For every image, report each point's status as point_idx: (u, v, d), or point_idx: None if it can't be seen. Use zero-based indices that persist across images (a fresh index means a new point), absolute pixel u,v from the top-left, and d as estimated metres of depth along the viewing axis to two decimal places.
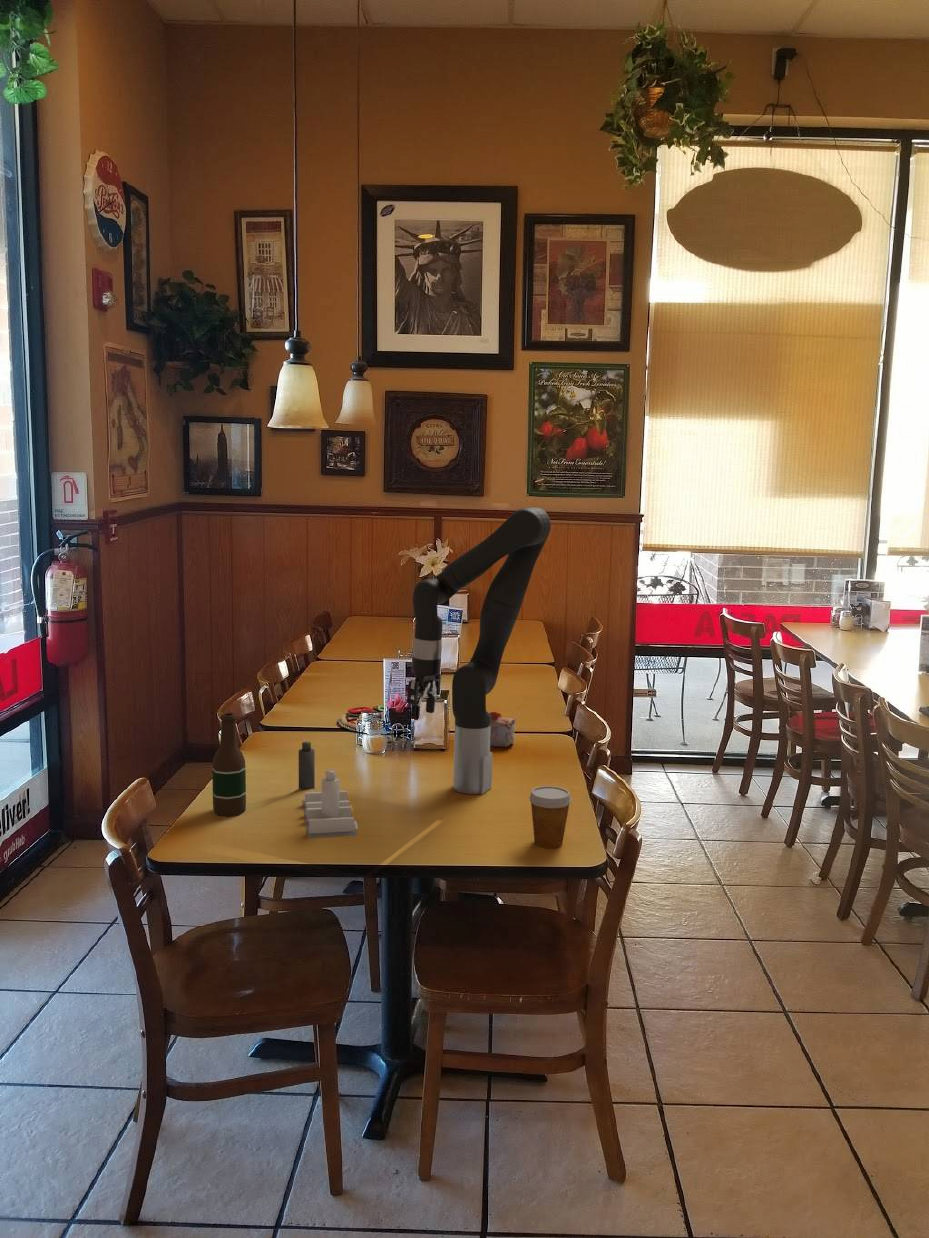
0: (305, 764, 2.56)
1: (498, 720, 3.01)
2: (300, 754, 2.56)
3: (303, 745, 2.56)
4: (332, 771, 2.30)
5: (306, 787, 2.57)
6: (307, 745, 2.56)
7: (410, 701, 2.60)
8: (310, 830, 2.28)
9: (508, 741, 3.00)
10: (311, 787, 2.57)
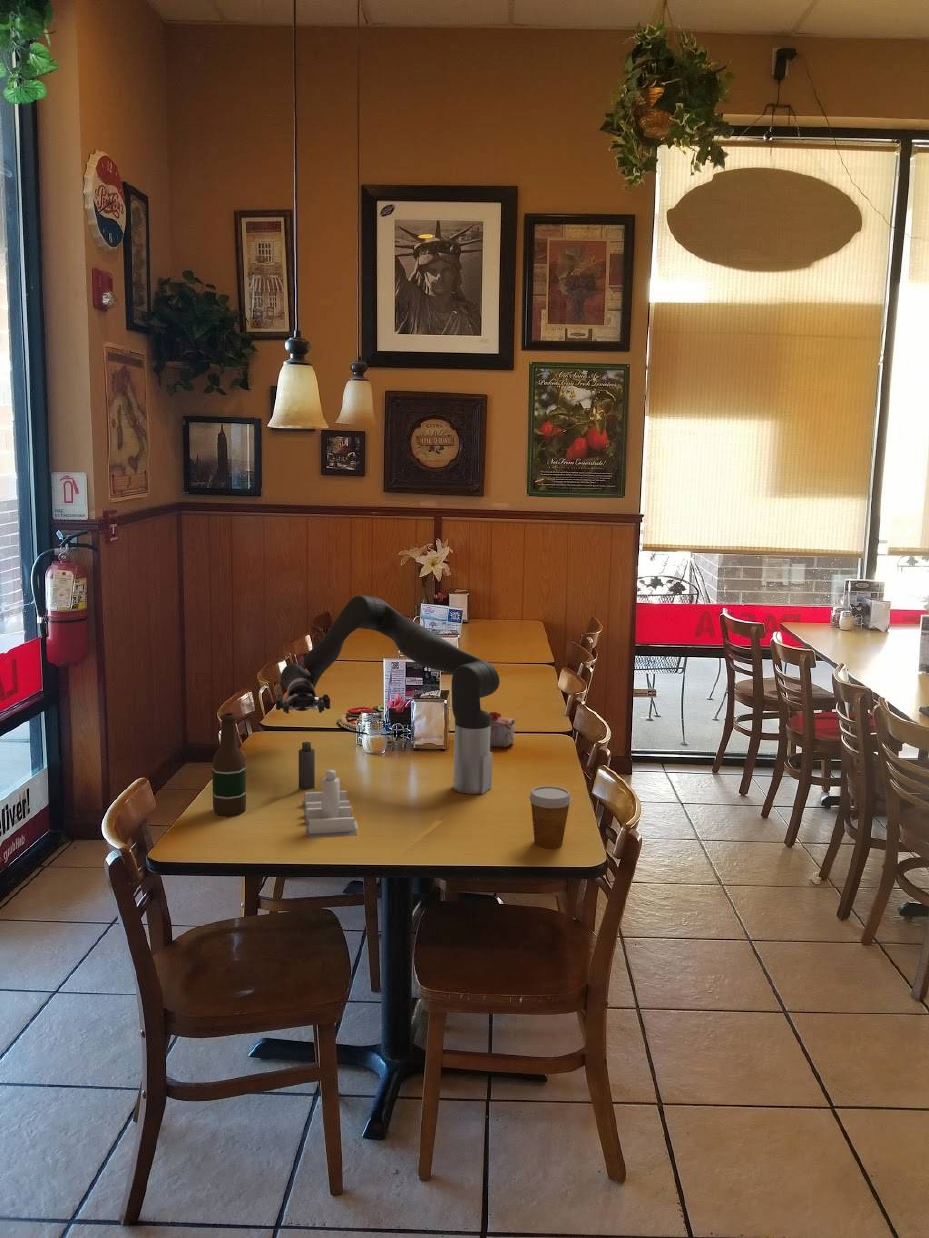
0: (305, 764, 2.56)
1: (498, 720, 3.01)
2: (300, 754, 2.56)
3: (303, 745, 2.56)
4: (332, 771, 2.30)
5: (306, 787, 2.57)
6: (307, 745, 2.56)
7: None
8: (310, 830, 2.28)
9: (508, 741, 3.00)
10: (311, 787, 2.57)
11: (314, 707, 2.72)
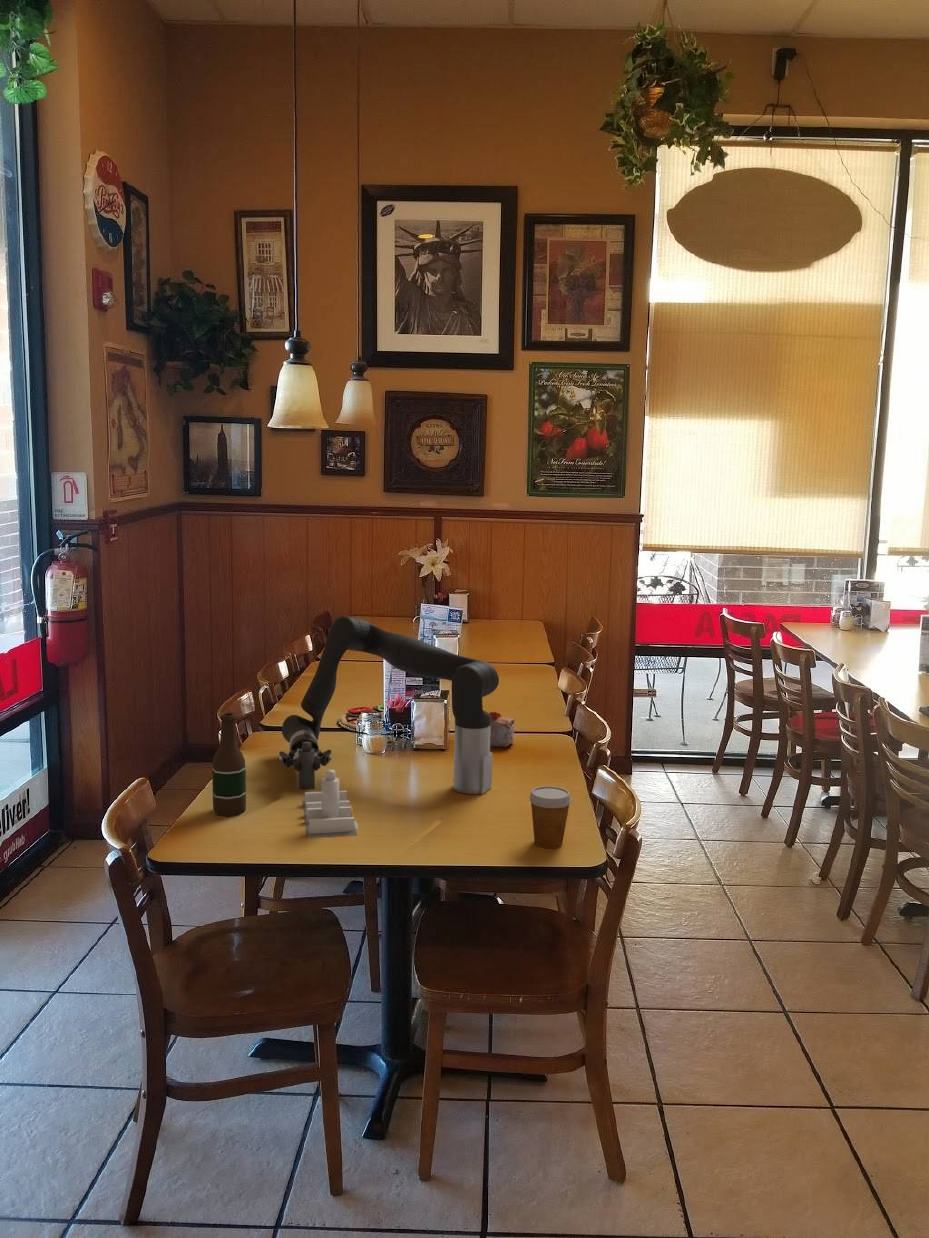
0: (305, 764, 2.56)
1: (498, 720, 3.01)
2: (300, 754, 2.56)
3: (303, 745, 2.56)
4: (332, 771, 2.30)
5: (306, 787, 2.57)
6: (307, 745, 2.56)
7: None
8: (310, 830, 2.28)
9: (508, 741, 3.00)
10: (311, 787, 2.57)
11: None
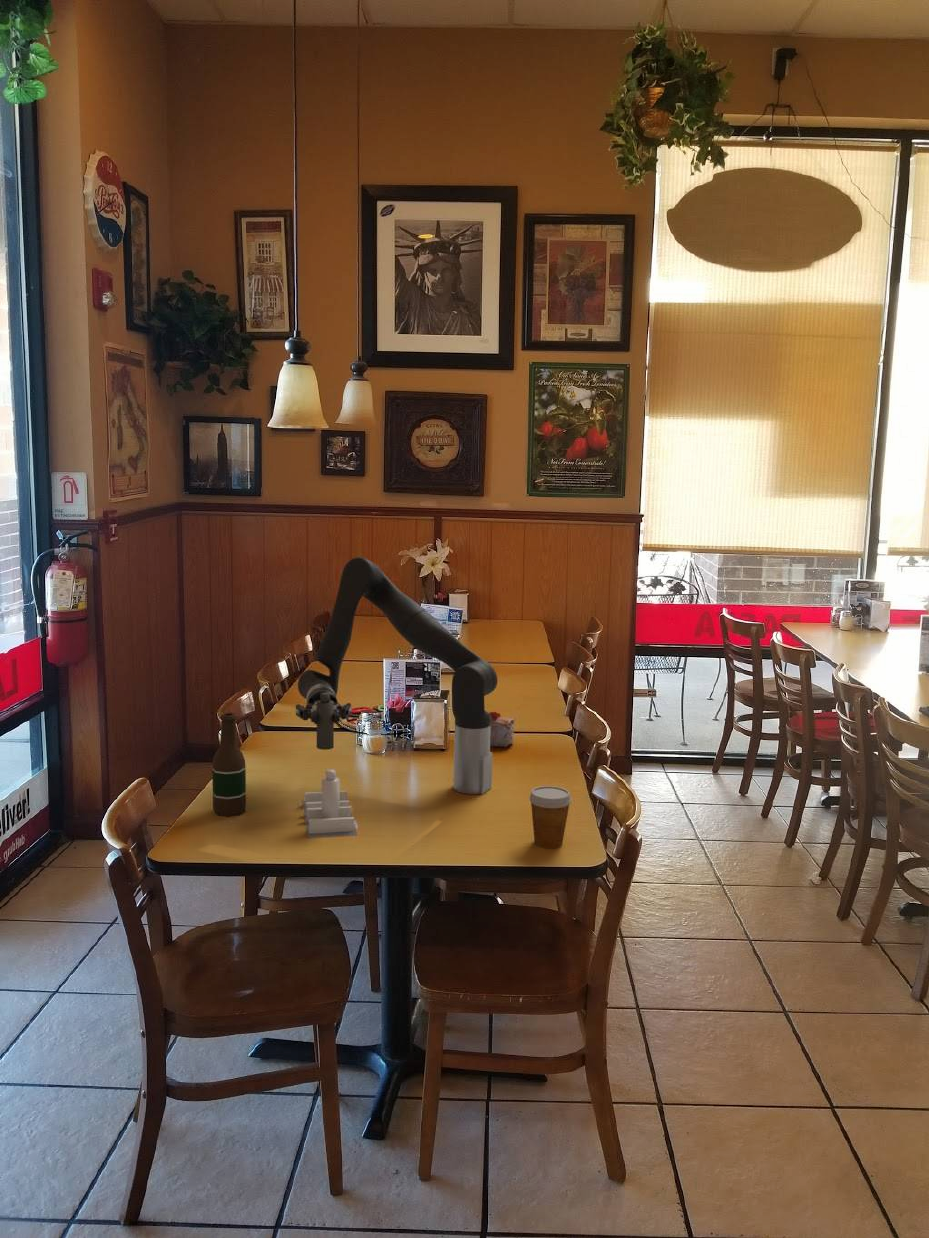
0: (323, 716, 2.39)
1: (497, 720, 3.01)
2: (318, 706, 2.39)
3: (321, 696, 2.39)
4: (332, 771, 2.30)
5: (325, 741, 2.40)
6: (326, 696, 2.39)
7: None
8: (310, 830, 2.28)
9: (507, 741, 3.00)
10: (330, 741, 2.40)
11: None
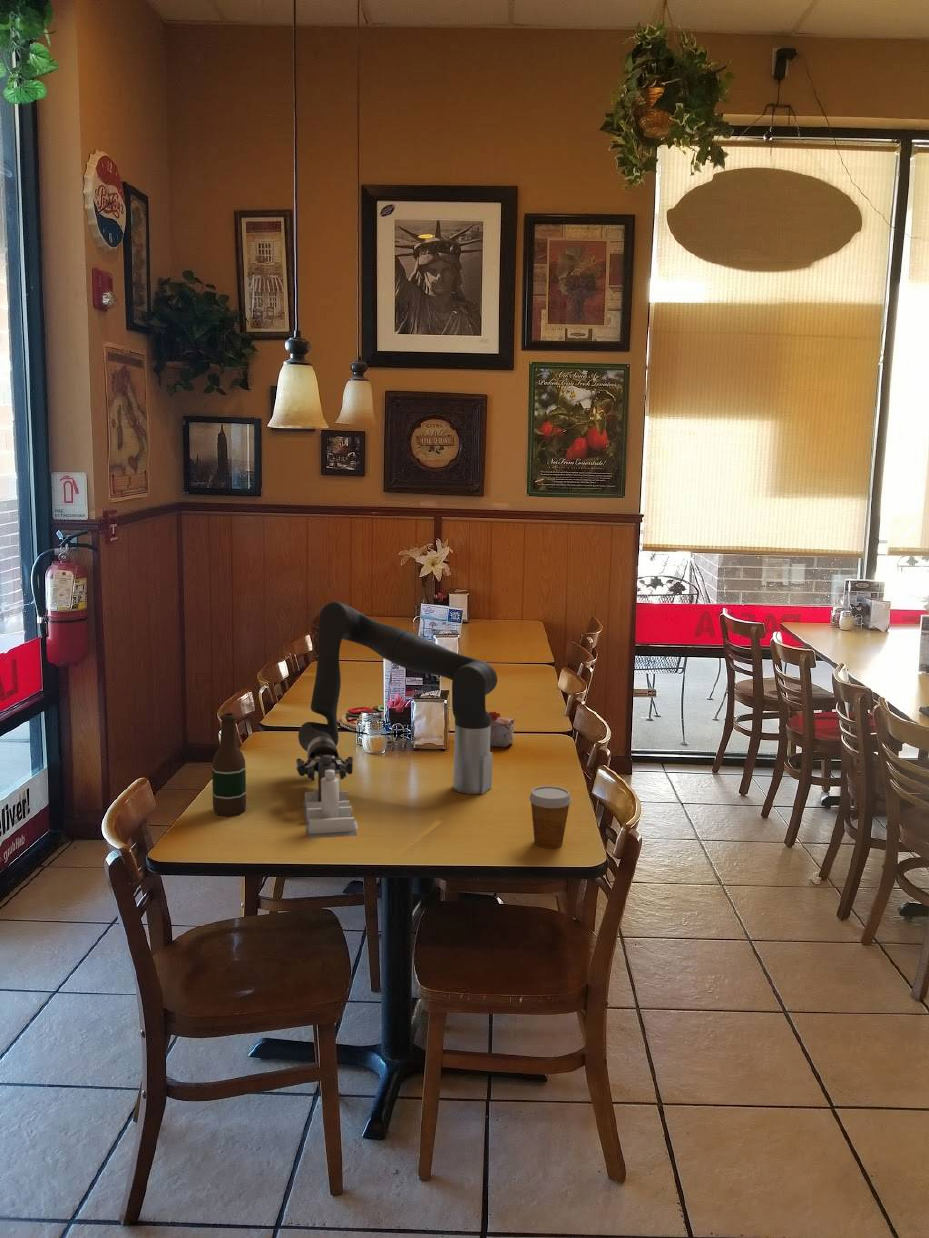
0: None
1: (497, 720, 3.01)
2: (320, 768, 2.40)
3: (323, 759, 2.40)
4: (331, 771, 2.30)
5: None
6: (327, 759, 2.40)
7: None
8: (310, 830, 2.28)
9: (507, 741, 3.00)
10: None
11: (335, 771, 2.46)
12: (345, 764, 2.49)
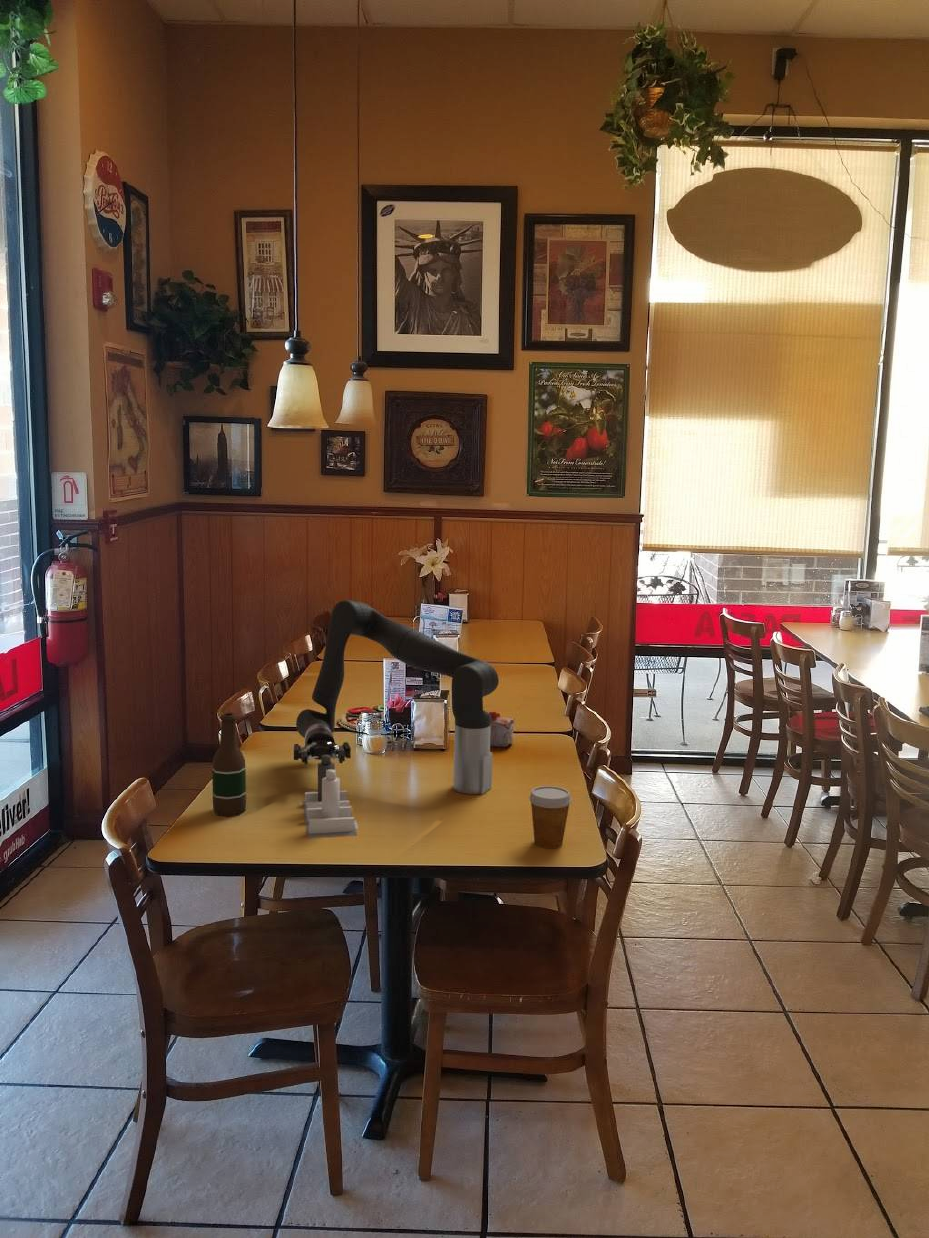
0: None
1: (497, 720, 3.01)
2: (319, 768, 2.40)
3: (322, 758, 2.41)
4: (332, 771, 2.30)
5: None
6: (327, 758, 2.40)
7: None
8: (310, 830, 2.28)
9: (507, 741, 3.00)
10: None
11: (334, 756, 2.58)
12: None
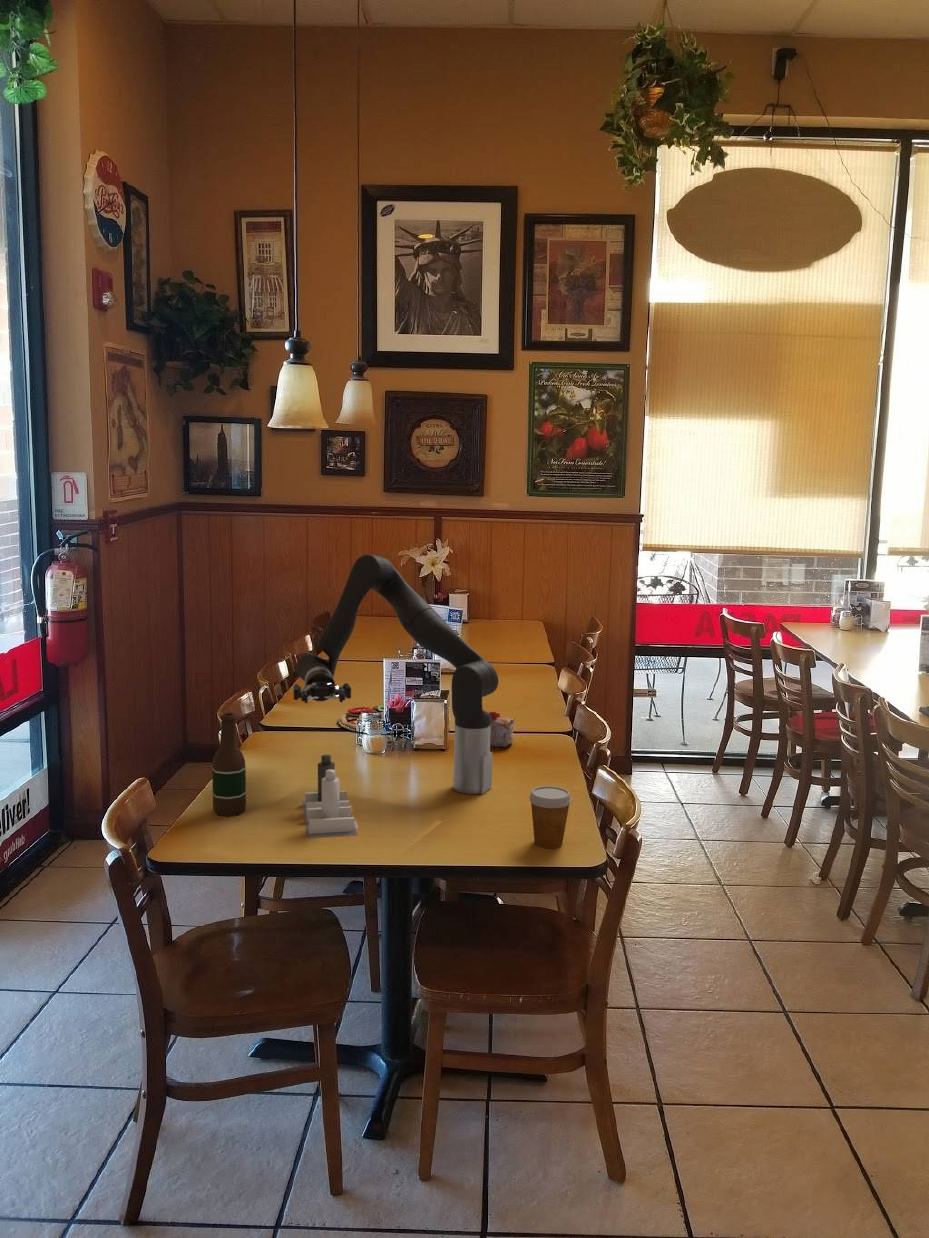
0: None
1: (497, 720, 3.01)
2: (319, 768, 2.40)
3: (322, 758, 2.41)
4: (332, 771, 2.30)
5: None
6: (327, 758, 2.40)
7: None
8: (310, 830, 2.28)
9: (506, 741, 3.00)
10: None
11: (334, 697, 2.55)
12: None
